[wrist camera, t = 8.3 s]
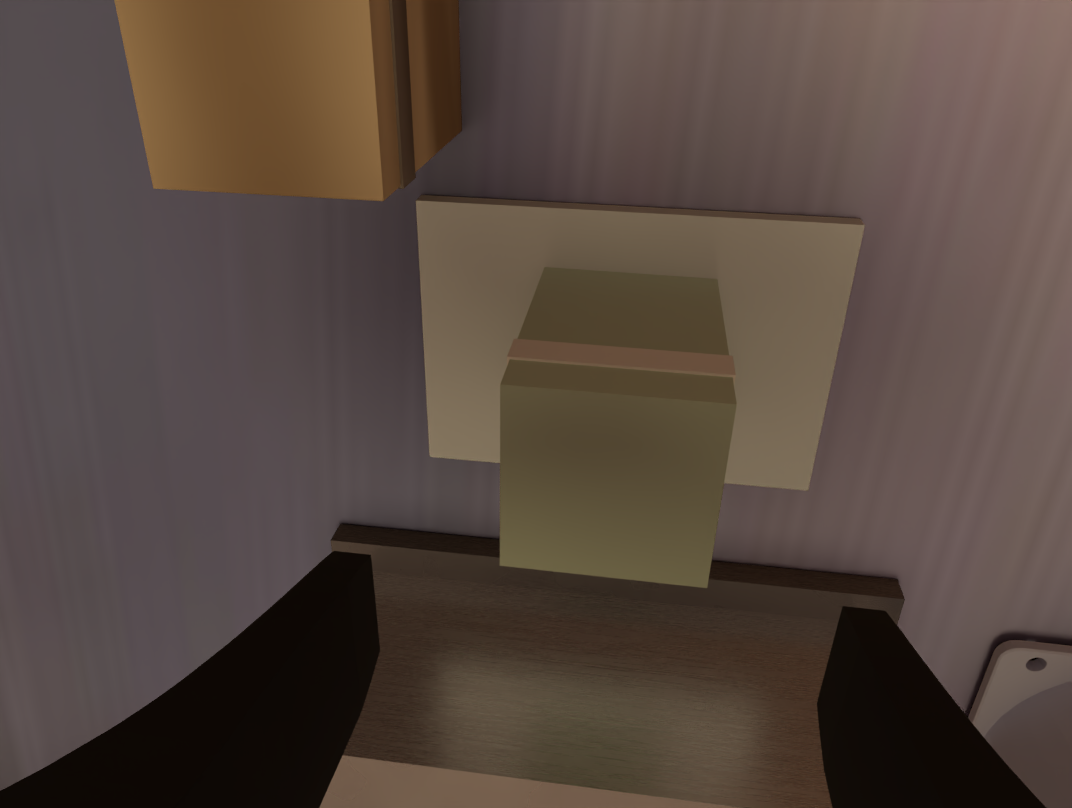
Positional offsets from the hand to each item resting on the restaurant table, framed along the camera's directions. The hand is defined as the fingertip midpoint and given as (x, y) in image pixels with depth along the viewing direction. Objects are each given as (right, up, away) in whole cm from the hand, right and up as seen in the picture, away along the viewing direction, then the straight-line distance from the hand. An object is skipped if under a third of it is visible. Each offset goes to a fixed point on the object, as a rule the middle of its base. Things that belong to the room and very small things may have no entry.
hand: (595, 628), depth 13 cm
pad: (+1, +5, +8) cm, 9 cm away
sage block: (+1, +5, +7) cm, 9 cm away
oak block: (-5, +12, +5) cm, 13 cm away
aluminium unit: (+1, -3, +12) cm, 13 cm away
